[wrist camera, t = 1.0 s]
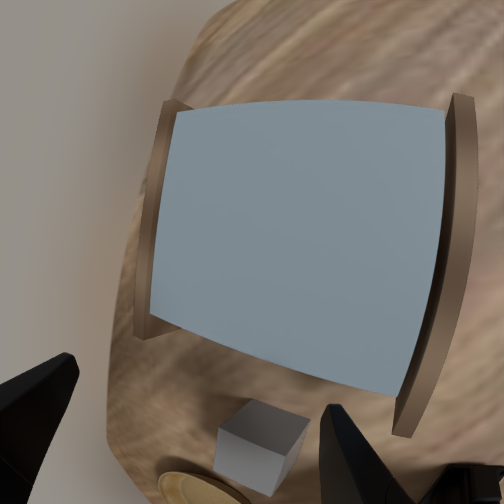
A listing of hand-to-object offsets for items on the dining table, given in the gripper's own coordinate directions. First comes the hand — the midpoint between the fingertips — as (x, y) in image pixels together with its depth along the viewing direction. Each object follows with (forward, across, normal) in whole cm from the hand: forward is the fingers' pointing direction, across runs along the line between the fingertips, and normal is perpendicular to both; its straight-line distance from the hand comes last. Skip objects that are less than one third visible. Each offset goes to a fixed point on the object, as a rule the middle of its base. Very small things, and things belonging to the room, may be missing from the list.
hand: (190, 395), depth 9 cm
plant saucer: (+5, -1, +29) cm, 30 cm away
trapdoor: (+10, -4, -2) cm, 11 cm away
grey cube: (+8, -5, +13) cm, 16 cm away
